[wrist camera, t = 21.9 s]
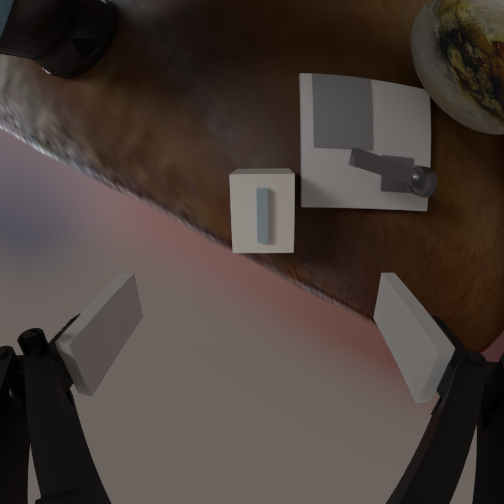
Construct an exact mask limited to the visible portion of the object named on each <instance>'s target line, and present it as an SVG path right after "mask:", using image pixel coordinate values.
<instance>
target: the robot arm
mask: <svg viewBox="0 0 504 504" xmlns="http://www.w3.org/2000/svg"><path fill="white" fill-rule="evenodd" d="M117 25H118V15H117V11H116V9H115V7H114V6H113V5H112V4H111V3H110V2H109V1H107V0H0V54H4V55H10V56H16V57H21V58H26V59H31V60H34V61H35V62H36V63H37V64H38V65H40V66H41V67H42V68H43V69H44V70H45V71H46V72H47V73H48V74H50V75H53V76H57V77H62V78H70V77H74V76H77V75H79V74H81V73H83V72H85V71H86V70H88V69H89V68H91V67H92V66H93V65H94V64H95V63H96V62H97V61H98V60H99V59H100V58H101V57H102V56H103V55H104V53H105V52H106V51H107V49H108V48H109V46H110V44H111V42H112V40H113V38H114V36H115V33H116V30H117ZM142 317H143V315H142V310H141V305H140V301H139V296H138V291H137V286H136V281H135V276H134V273H121V274H120V275H119V276H118V277H117V278H116V279H115V280H114V281H113V282H112V283H111V284H110V285H109V286H108V287H107V288H106V289H105V290H104V291H103V292H102V293H101V294H100V295H99V296H98V297H97V298H96V299H95V300H94V301H93V302H92V303H91V304H90V305H89V306H88V307H87V308H86V309H85V310H84V312H83V313H82V314H79V315H77V316H75V317H74V318H72V319H71V320H70V321H69V322H68V323H67V324H66V326H64V327H63V328H62V330H61V331H59V333H58V334H57V335H56V336H55V337H54V338H53V339H52V340H51V341H50V342H49V343H48V342H47V340H46V338H45V335H44V332H43V330H42V329H40V328H32V329H29V330H26V331H25V332H23V333H22V334H21V335H20V336H19V337H18V340H17V341H18V343H19V345H20V348H21V350H22V352H23V354H24V355H16V354H15V352H14V350H13V347H11V346H2V347H0V504H28V501H27V500H28V497H27V496H28V494H27V492H28V486H27V485H28V464H29V450H30V444H31V450H32V456H33V462H34V467H35V472H36V476H37V480H38V485H39V489H40V493H41V498H40V499H37V500H36V501H35V504H111V502H110V500H109V498H108V496H107V493H106V491H105V489H104V487H103V485H102V482H101V480H100V477H99V475H98V472H97V470H96V467H95V465H94V462H93V459H92V457H91V454H90V451H89V448H88V446H87V443H86V440H85V437H84V433H83V430H82V427H81V424H80V420H79V417H78V413H77V410H76V406H75V402H74V398H73V394H72V393H71V391H70V387H71V386H72V384H73V383H74V385H75V387H76V389H77V391H78V393H81V394H85V395H89V396H93V394H94V393H95V391H96V389H97V388H98V386H99V384H100V383H101V381H102V379H103V378H104V376H105V374H106V373H107V371H108V370H109V368H110V366H111V365H112V363H113V362H114V360H115V359H116V357H117V355H118V354H119V352H120V351H121V349H122V348H123V346H124V344H125V343H126V341H127V340H128V338H129V337H130V335H131V334H132V332H133V331H134V329H135V328H136V326H137V325H138V323H139V322H140V320H141V319H142ZM374 320H375V322H376V324H377V326H378V327H379V329H380V331H381V333H382V335H383V337H384V339H385V341H386V343H387V345H388V347H389V349H390V350H391V353H392V354H393V357H394V359H395V361H396V363H397V365H398V367H399V369H400V371H401V373H402V375H403V377H404V379H405V381H406V383H407V386H408V388H409V390H410V392H411V394H412V396H413V398H414V401H415V403H416V404H418V403H423V402H427V401H431V400H432V398H433V396H434V394H435V392H436V390H437V392H438V393H439V395H440V398H439V400H438V402H437V404H436V405H435V407H434V409H433V411H432V413H431V415H432V417H431V419H430V422H429V424H428V426H427V428H426V431H425V433H424V435H423V437H422V439H421V442H420V444H419V446H418V448H417V450H416V452H415V454H414V456H413V458H412V460H411V462H410V464H409V465H408V467H407V469H406V471H405V473H404V475H403V476H402V478H401V480H400V481H399V483H398V485H397V487H396V488H395V490H394V491H393V493H392V495H391V496H390V498H389V500H388V501H387V503H386V504H449V503H450V501H451V499H452V496H453V494H454V492H455V489H456V486H457V484H458V481H459V479H460V476H461V473H462V471H463V468H464V464H465V462H466V459H467V456H468V452H469V449H470V446H471V442H472V439H473V435H474V431H475V428H476V424H477V457H476V474H475V485H474V495H473V502H472V504H504V353H503V354H502V356H501V358H500V360H499V362H487V361H486V359H485V357H484V356H483V355H481V354H480V353H478V352H476V351H472V350H466V349H465V347H464V346H463V345H462V343H461V342H460V341H459V340H458V338H457V337H456V336H455V335H454V334H453V332H452V331H451V330H450V329H449V327H448V326H447V325H446V323H445V322H444V321H443V320H441V319H440V318H438V317H437V316H430V315H429V314H428V312H427V311H426V310H425V309H424V307H423V306H422V305H421V304H420V303H419V301H418V300H417V299H416V298H415V296H414V295H413V294H412V293H411V292H410V291H409V289H408V288H407V287H406V286H405V285H404V284H403V282H402V281H401V280H400V279H399V278H398V277H397V275H396V274H395V273H381V279H380V285H379V291H378V297H377V302H376V307H375V313H374ZM9 391H10V393H11V395H10V394H9Z"/></svg>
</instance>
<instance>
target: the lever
mask: <svg viewBox="0 0 504 504" xmlns="http://www.w3.org/2000/svg"><path fill="white" fill-rule="evenodd" d="M348 165H350V166H354V167H357V168H360V169H363V170H366V171H369V172H372V173H375V174H378V175H381V176H384V177H387V178H390V179H393V180H395V181H397V182H400V183H403V184H405V186H406V188H407V189H408V191H409V192H411V193H412V194H415V195H417V196H419V197H422V198H426V197H429V196H431V195H432V194H433V193H434V192H435V190H436V187H437V177H436V174H435V173H434V171H433V170H432V169H431V168H429V167H425V166H420V165H414V166H411V167H409V166H406V165H404V164H401V163H398V162H396V161H393V160H390V159H388V158H385V157H382V156H379V155H376V154H374V153H371V152H368V151H365V150H362V149H359V148H352V152H351V156H350V160H349V164H348Z"/></svg>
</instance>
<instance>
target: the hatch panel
mask: <svg viewBox="0 0 504 504" xmlns="http://www.w3.org/2000/svg"><path fill="white" fill-rule="evenodd" d="M299 89H300V127H301V207H328V208H368V209H393V210H414V211H427V204H428V197H426V198H422V197H419V196H417V195H415V194H412V193H411V192H409V191H408V189H407V188H406V186H405V184H403V183H400V182H397V181H395V180H393V179H390V178H387V177H384V176H381V175H378V174H375V173H372V172H369V171H366V170H363V169H360V168H357V167H354V166H350V165H348V164H349V160H350V156H351V152H352V148H359V149H362V150H365V151H368V152H371V153H374V154H376V155H379V156H382V157H385V158H388V159H390V160H393V161H396V162H398V163H401V164H404V165H406V166H409V167H411V166H414V165H420V166H425V167H429V168H430V160H431V111H430V96H429V94H428V93H427V91H426V90H425V89H421V88H416V87H411V86H406V85H401V84H396V83H390V82H384V81H378V80H371V79H367V78H359V77H351V76H341V75H330V74H315V73H312V74H308V73H300V75H299Z"/></svg>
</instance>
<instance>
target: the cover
mask: <svg viewBox="0 0 504 504" xmlns="http://www.w3.org/2000/svg"><path fill="white" fill-rule="evenodd" d="M230 200H231V224H232V247H233V253H294V206H295V174H294V173H293V172H292V171H291V170H290V169H237V170H235V171H234V172H233V173H231V174H230Z"/></svg>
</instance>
